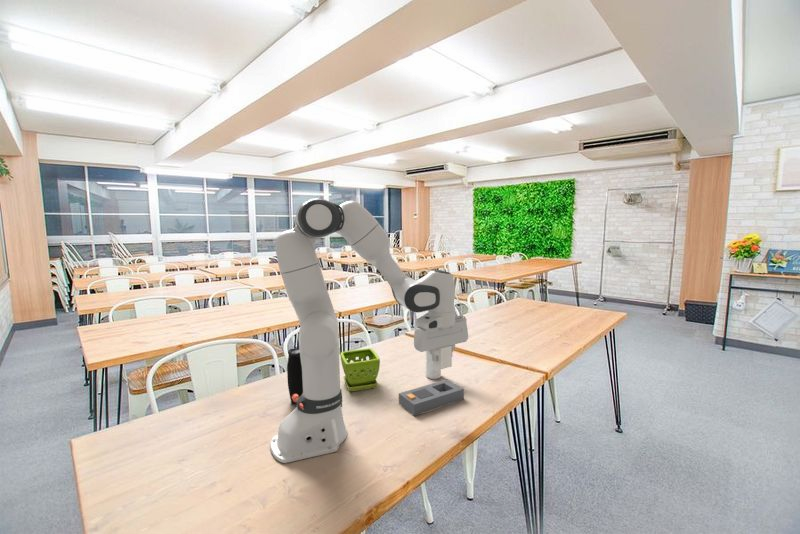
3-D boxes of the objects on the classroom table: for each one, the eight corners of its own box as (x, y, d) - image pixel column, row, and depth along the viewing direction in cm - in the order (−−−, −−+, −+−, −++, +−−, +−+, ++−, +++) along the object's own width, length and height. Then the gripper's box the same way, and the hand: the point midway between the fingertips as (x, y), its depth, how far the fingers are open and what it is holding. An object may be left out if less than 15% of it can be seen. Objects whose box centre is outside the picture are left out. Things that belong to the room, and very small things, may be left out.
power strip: (414, 415, 122) (414, 403, 121) (398, 403, 130) (398, 391, 130) (463, 399, 133) (464, 387, 133) (446, 389, 142) (446, 377, 141)
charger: (441, 369, 118) (440, 348, 117) (433, 365, 122) (432, 344, 121) (451, 366, 120) (451, 345, 119) (443, 362, 124) (443, 342, 123)
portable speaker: (284, 403, 132) (281, 351, 130) (301, 393, 140) (299, 344, 138) (302, 408, 128) (299, 355, 126) (319, 397, 137) (316, 347, 134)
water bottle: (431, 380, 150) (431, 321, 147) (422, 375, 155) (422, 318, 153) (448, 375, 155) (447, 318, 152) (438, 370, 160) (438, 315, 157)
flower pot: (340, 380, 151) (339, 351, 150) (373, 376, 155) (372, 347, 154) (346, 395, 138) (345, 363, 137) (381, 389, 142) (380, 358, 141)
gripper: (460, 312, 127) (460, 350, 129) (410, 321, 117) (411, 362, 118) (472, 315, 122) (472, 355, 123) (421, 325, 111) (422, 368, 113)
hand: (442, 359), depth 121 cm, fingers closed on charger, 4 cm apart
